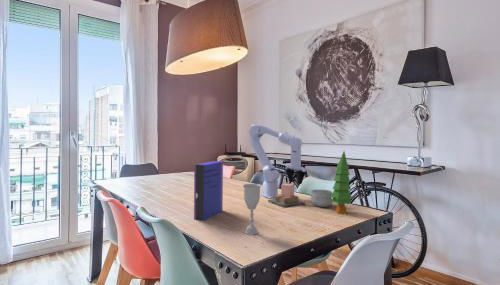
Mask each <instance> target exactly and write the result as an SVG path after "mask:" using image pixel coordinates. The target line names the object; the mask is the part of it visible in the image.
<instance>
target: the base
mask: <svg viewBox="0 0 500 285" xmlns="http://www.w3.org/2000/svg"><path fill="white" fill-rule="evenodd" d="M267 201H268V203H270V204H272V205H275V206H279V207H281V208H291V207H297V206H304V205H306V202H305V201H302V200H299V196H297V195H295V194H294V196H291V197H287V196H281V193H280V194H279V193H278V195H275V198H271V199H268V200H267Z"/></svg>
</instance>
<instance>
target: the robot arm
mask: <svg viewBox="0 0 500 285" xmlns="http://www.w3.org/2000/svg"><path fill="white" fill-rule="evenodd" d="M248 134H249V143H250V145H251V147H252V149H253V151H254V153H255V155H256V157H257V159H258V161H259V163H260V165H261V167H262V173H263V178H264V181H263V183H262V185H261V187H262V193H260V196H262V197H266V198H268V199H275V195H279V193H278V192H279V191H278V190H279V185H278V184H279V182H278V181H279V178H280V172H279V171H278V170H277V169H276V168H275V166H274V165H273V164H272V162H271V161H270V159H269V157H268V156H267V154H266V151H265V149H264V148H263V146H262V143H261V142H260V141H261V138H262V136H264V134H267V135H270V136H273V137H275V138H277V139H278V140H279V142H281V143H283V144H286V145H287V146H290V165H289V164H288V165H285V173H286V175H287V179H288V183H293V182H294V174H295V172H296V174H297V183H298V184H297V185H302V183H303V180H304V178H305V176H306V174H307V168H306V167H303V166H302V165H301V163H302V145H303V140H302V138H300V137H298V136H297V137H296V136H295V135H291V134H289V133H288V132H287V131H285V132H284V131H282V132H279V131H277V130H276V129H273V128H272V127H269V126H266V125H263V124H256V123H254V124H252V125H250V126H249V130H248Z"/></svg>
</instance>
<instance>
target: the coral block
mask: <svg viewBox="0 0 500 285" xmlns="http://www.w3.org/2000/svg"><path fill="white" fill-rule="evenodd" d="M280 185H281V191H280V194H281V196H287V197H291V196H294V195H295V184H294V183H287V182H286V183H283V184H280Z"/></svg>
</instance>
